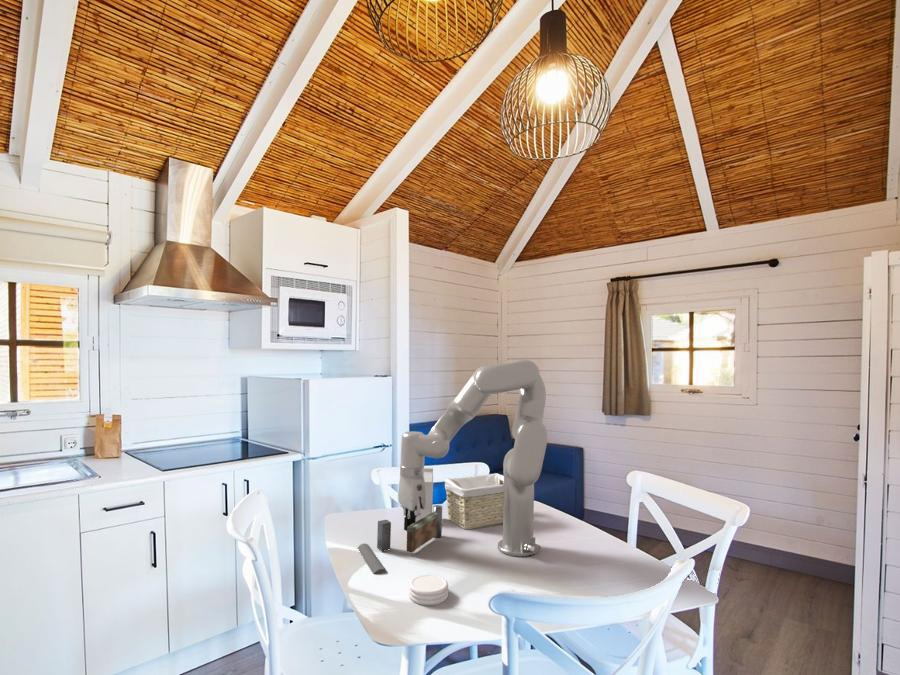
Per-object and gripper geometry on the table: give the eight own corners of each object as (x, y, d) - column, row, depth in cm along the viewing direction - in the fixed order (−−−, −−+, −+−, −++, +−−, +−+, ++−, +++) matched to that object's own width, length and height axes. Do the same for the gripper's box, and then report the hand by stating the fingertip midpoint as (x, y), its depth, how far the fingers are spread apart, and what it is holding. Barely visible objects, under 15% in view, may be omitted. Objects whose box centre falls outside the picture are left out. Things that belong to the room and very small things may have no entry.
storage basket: (461, 532, 172) (462, 489, 172) (442, 517, 186) (443, 477, 187) (520, 523, 182) (521, 482, 183) (497, 509, 197) (497, 472, 197)
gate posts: (443, 537, 167) (444, 507, 167) (381, 551, 153) (382, 519, 154) (438, 534, 169) (439, 504, 169) (377, 548, 156) (378, 516, 156)
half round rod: (369, 548, 157) (370, 542, 157) (387, 574, 140) (388, 567, 140) (356, 550, 156) (356, 544, 156) (373, 576, 138) (373, 570, 138)
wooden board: (431, 534, 166) (432, 512, 166) (437, 535, 165) (437, 513, 165) (406, 551, 151) (407, 527, 151) (412, 552, 150) (412, 528, 151)
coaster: (449, 606, 122) (449, 591, 122) (408, 606, 122) (409, 592, 122) (446, 586, 132) (446, 573, 132) (408, 587, 132) (409, 573, 132)
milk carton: (431, 524, 179) (432, 470, 179) (411, 523, 179) (412, 470, 179) (432, 517, 186) (433, 466, 186) (413, 516, 186) (414, 465, 186)
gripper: (434, 475, 154) (432, 535, 153) (410, 465, 166) (408, 520, 166) (413, 478, 149) (410, 540, 149) (390, 467, 162) (387, 524, 161)
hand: (409, 529), depth 157 cm, fingers closed
